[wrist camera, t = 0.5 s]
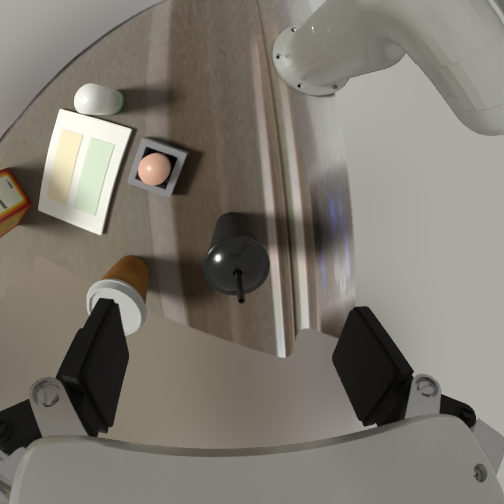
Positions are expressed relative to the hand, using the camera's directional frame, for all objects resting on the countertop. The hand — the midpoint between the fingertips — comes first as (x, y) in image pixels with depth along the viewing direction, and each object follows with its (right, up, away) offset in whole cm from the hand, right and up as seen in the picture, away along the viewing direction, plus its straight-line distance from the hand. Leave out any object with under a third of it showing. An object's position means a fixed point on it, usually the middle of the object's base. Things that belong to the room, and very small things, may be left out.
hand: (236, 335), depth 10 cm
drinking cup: (-3, +7, +34) cm, 35 cm away
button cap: (-13, +15, +26) cm, 33 cm away
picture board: (-27, +16, +26) cm, 41 cm away
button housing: (-13, +16, +28) cm, 35 cm away
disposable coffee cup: (-20, 0, +35) cm, 40 cm away
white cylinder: (-20, +26, +22) cm, 40 cm away
